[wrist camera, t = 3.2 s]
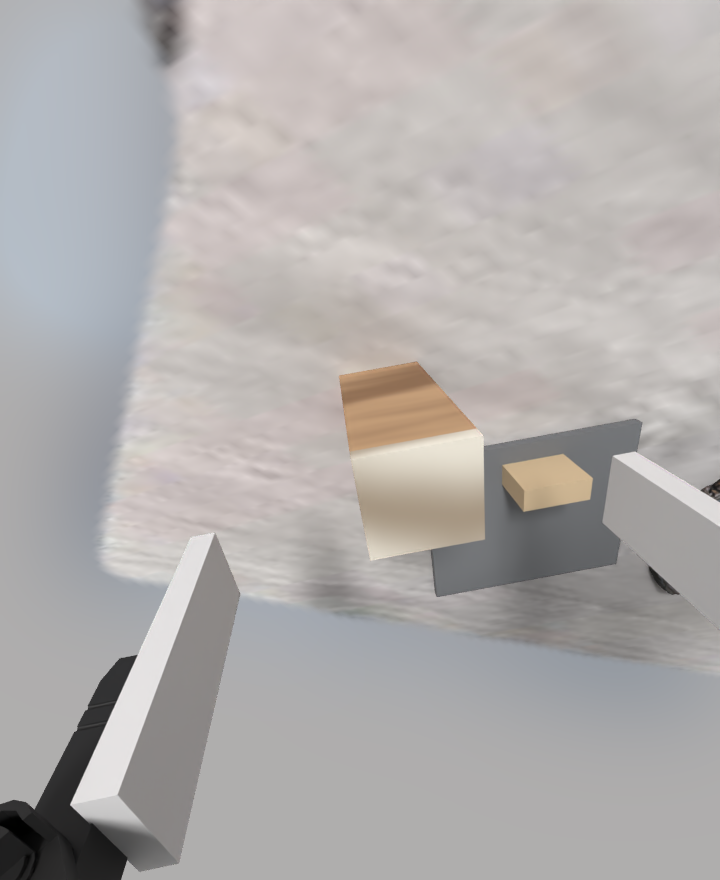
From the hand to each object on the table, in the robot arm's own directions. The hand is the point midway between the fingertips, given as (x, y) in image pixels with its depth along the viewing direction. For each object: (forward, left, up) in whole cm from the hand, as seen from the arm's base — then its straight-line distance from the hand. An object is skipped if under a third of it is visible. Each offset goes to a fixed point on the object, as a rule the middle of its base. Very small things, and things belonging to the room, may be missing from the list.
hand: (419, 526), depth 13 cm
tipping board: (+10, +9, -11) cm, 18 cm away
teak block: (0, 0, -11) cm, 11 cm away
